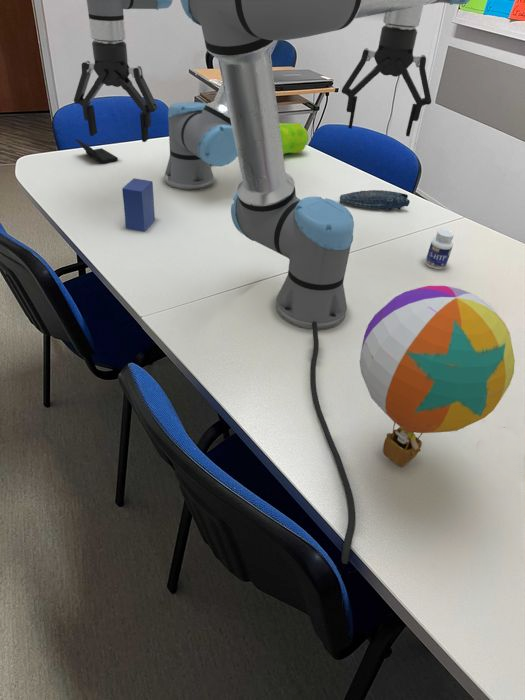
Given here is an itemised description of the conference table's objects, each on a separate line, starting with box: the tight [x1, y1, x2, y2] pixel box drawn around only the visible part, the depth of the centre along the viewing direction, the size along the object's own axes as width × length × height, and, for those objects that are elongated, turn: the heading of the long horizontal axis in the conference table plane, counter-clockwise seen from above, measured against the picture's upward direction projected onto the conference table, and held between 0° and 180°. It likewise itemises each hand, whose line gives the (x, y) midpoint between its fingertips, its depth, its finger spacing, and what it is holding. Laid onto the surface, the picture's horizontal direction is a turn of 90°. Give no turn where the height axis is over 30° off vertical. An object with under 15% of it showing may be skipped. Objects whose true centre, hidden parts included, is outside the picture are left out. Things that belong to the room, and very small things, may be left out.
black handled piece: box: [75, 138, 119, 164], centre depth 173 cm, size 12×7×10 cm
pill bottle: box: [424, 228, 455, 270], centre depth 130 cm, size 5×5×9 cm
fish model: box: [339, 189, 411, 211], centre depth 158 cm, size 7×21×5 cm, turn 84°
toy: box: [359, 285, 516, 468], centre depth 73 cm, size 20×20×30 cm
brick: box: [121, 177, 156, 233], centre depth 136 cm, size 5×7×11 cm
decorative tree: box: [279, 122, 309, 155], centre depth 188 cm, size 18×10×30 cm
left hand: (119, 137), depth 131 cm, fingers open, 13 cm apart
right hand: (378, 131), depth 123 cm, fingers open, 13 cm apart
